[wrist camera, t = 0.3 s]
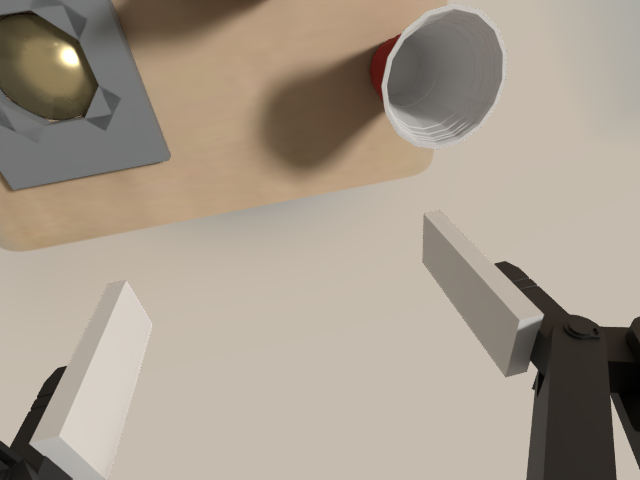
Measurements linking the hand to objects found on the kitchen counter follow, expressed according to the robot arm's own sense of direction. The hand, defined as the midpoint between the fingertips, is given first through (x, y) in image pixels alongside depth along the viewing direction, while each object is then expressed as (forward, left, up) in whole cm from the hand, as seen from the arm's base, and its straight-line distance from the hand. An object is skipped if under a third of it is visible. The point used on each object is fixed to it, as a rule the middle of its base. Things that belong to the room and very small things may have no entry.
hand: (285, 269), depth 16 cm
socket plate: (-8, -19, -28) cm, 34 cm away
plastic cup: (-3, +15, -28) cm, 32 cm away
